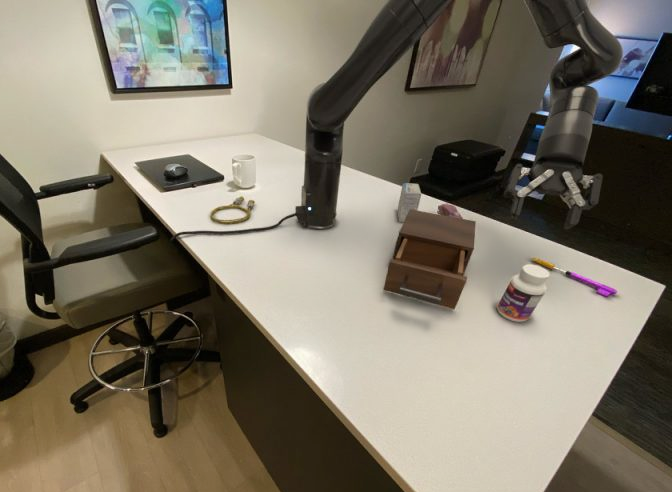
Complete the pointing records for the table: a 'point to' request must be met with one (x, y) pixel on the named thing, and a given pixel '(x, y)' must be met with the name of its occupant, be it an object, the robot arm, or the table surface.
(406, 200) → the medicine box
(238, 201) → the coiled yellow cable
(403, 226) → the cabinet
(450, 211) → the video game controller
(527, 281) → the pill bottle
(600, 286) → the purple and yellow rod
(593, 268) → the table surface
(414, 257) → the drawer
